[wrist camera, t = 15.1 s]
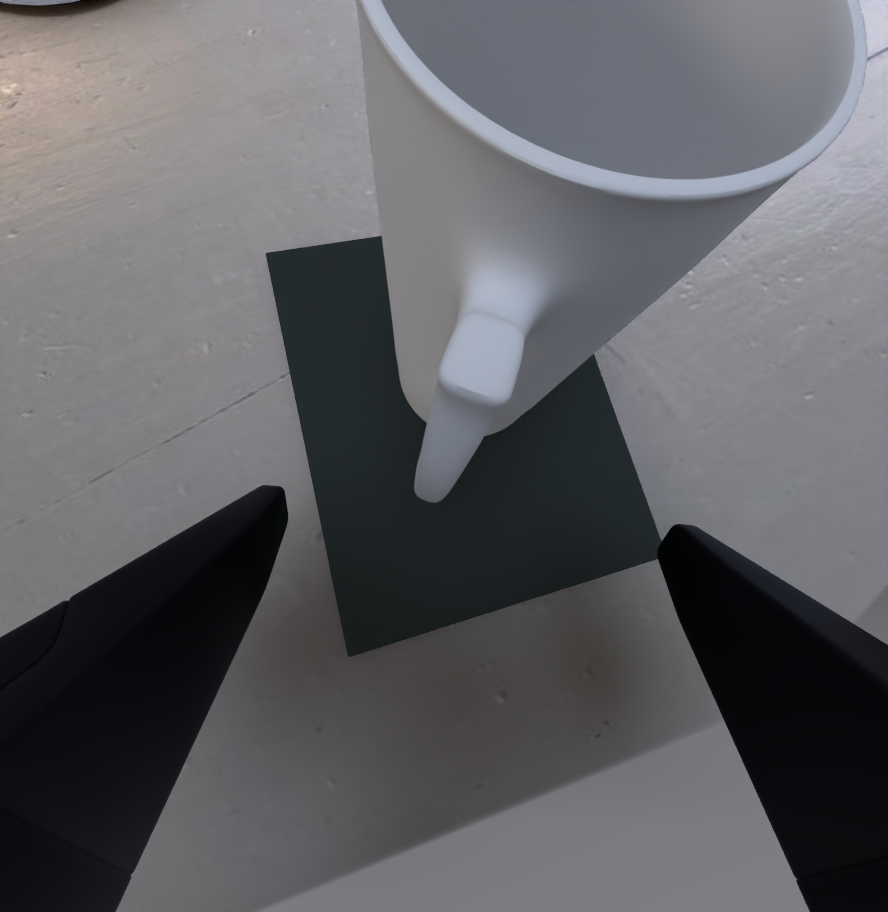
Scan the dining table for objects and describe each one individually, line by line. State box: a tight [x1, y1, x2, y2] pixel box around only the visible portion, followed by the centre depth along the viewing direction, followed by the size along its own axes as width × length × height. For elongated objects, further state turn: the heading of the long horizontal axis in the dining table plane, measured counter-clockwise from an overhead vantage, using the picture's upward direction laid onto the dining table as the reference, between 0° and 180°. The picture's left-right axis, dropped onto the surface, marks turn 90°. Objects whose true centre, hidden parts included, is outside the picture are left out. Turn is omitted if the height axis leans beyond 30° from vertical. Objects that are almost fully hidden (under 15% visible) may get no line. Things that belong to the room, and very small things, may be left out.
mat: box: [266, 236, 661, 657], centre depth 16 cm, size 18×14×1 cm
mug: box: [357, 0, 867, 503], centre depth 10 cm, size 10×7×12 cm, turn 161°
